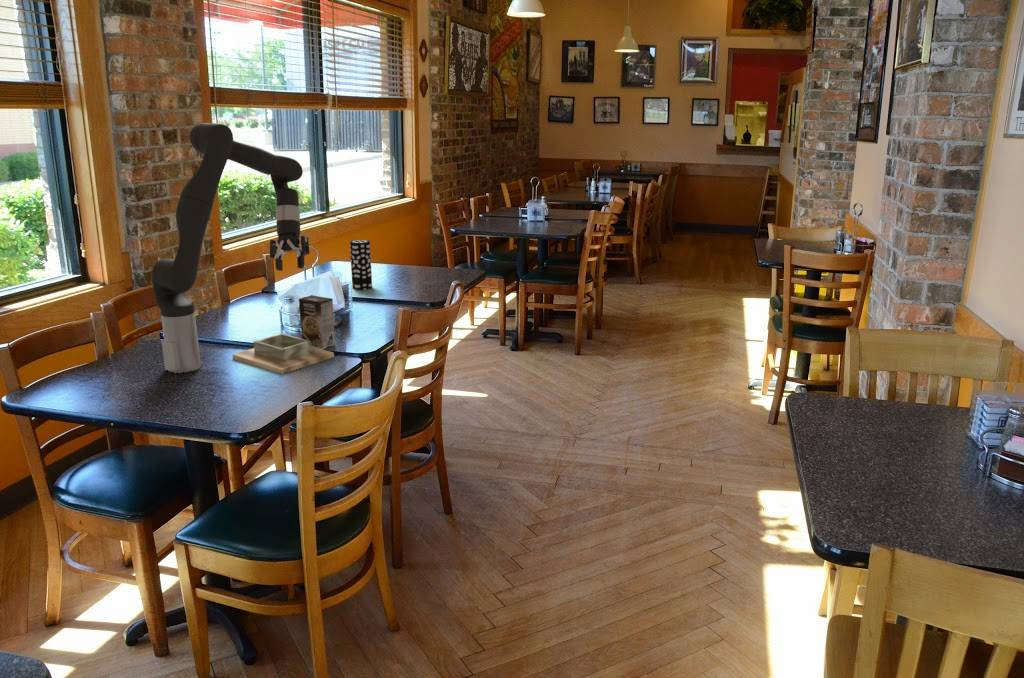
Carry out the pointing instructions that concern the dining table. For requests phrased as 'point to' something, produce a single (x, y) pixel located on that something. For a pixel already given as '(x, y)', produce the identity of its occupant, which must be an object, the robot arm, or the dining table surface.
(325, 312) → the coffee box
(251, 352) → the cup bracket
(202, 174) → the robot arm
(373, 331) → the dining table surface
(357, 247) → the white-spotted black cylinder
